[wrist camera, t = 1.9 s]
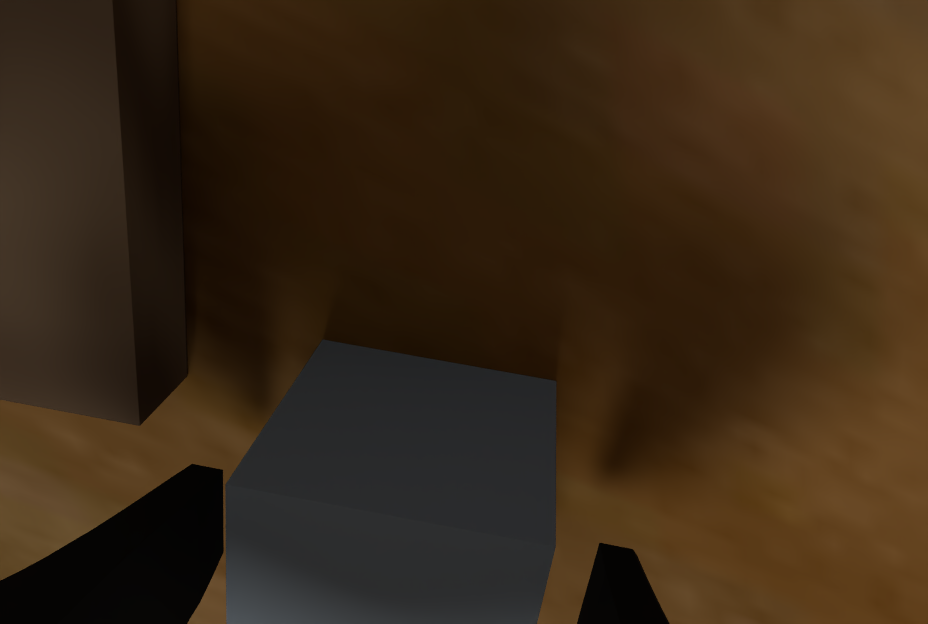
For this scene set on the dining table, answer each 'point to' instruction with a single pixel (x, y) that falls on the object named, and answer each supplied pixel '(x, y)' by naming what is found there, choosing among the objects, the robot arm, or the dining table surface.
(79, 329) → the base slab
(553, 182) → the dining table surface
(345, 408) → the grey cube
